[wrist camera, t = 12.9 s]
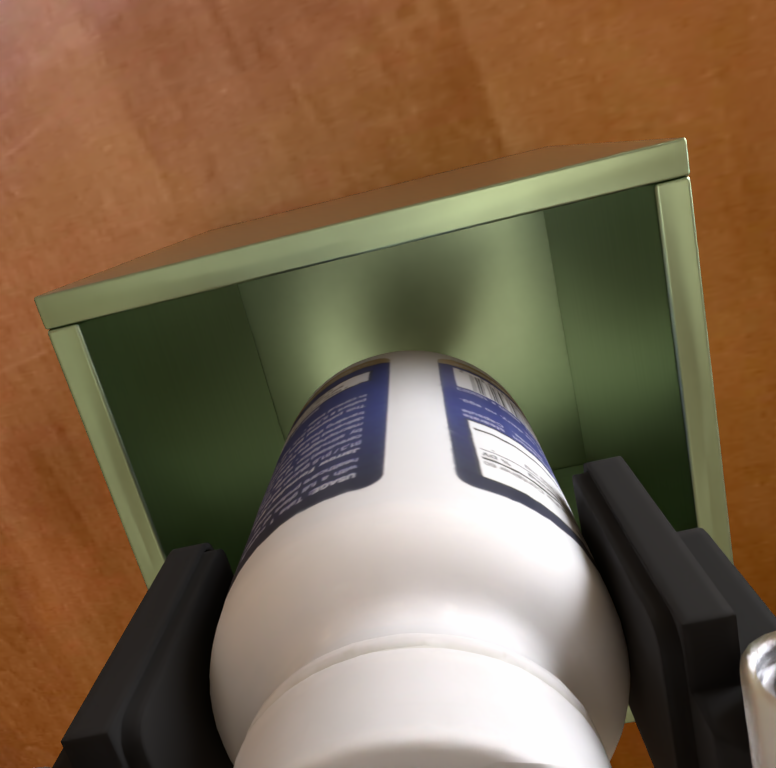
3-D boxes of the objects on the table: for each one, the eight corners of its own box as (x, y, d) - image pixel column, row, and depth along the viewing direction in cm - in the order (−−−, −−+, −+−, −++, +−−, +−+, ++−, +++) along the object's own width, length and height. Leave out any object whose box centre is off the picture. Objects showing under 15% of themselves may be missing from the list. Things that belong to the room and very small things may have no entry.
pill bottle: (296, 573, 17) (160, 1107, 7) (278, 347, 15) (73, 669, 6) (531, 570, 16) (697, 1111, 7) (540, 342, 15) (769, 662, 6)
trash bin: (207, 230, 24) (31, 298, 12) (548, 146, 22) (687, 136, 11) (300, 529, 27) (226, 793, 16) (601, 467, 26) (750, 703, 15)
